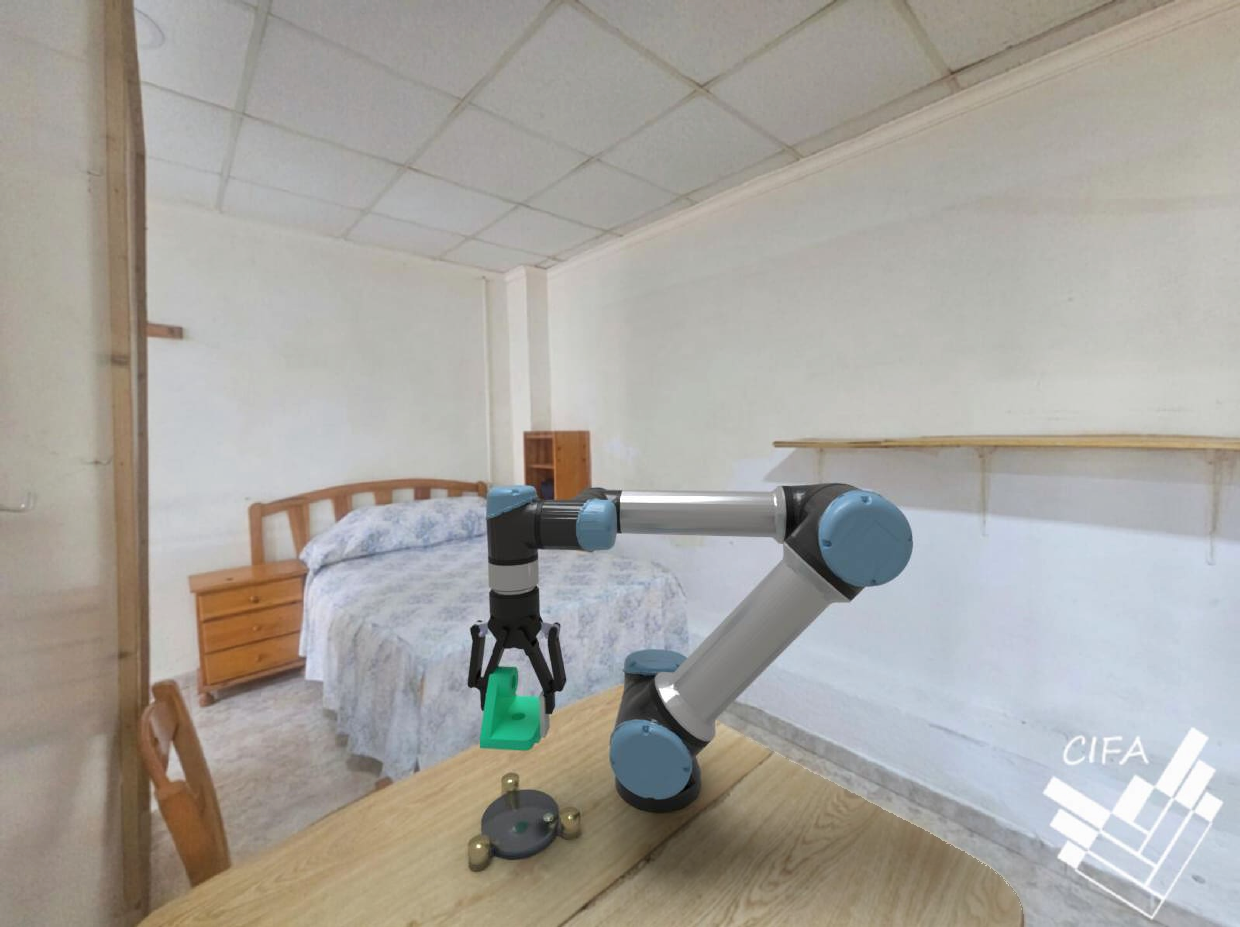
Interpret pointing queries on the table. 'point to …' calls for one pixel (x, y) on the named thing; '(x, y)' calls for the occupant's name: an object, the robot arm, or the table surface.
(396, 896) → the table surface
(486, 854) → the plate
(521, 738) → the camera mount
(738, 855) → the table surface
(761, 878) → the table surface
